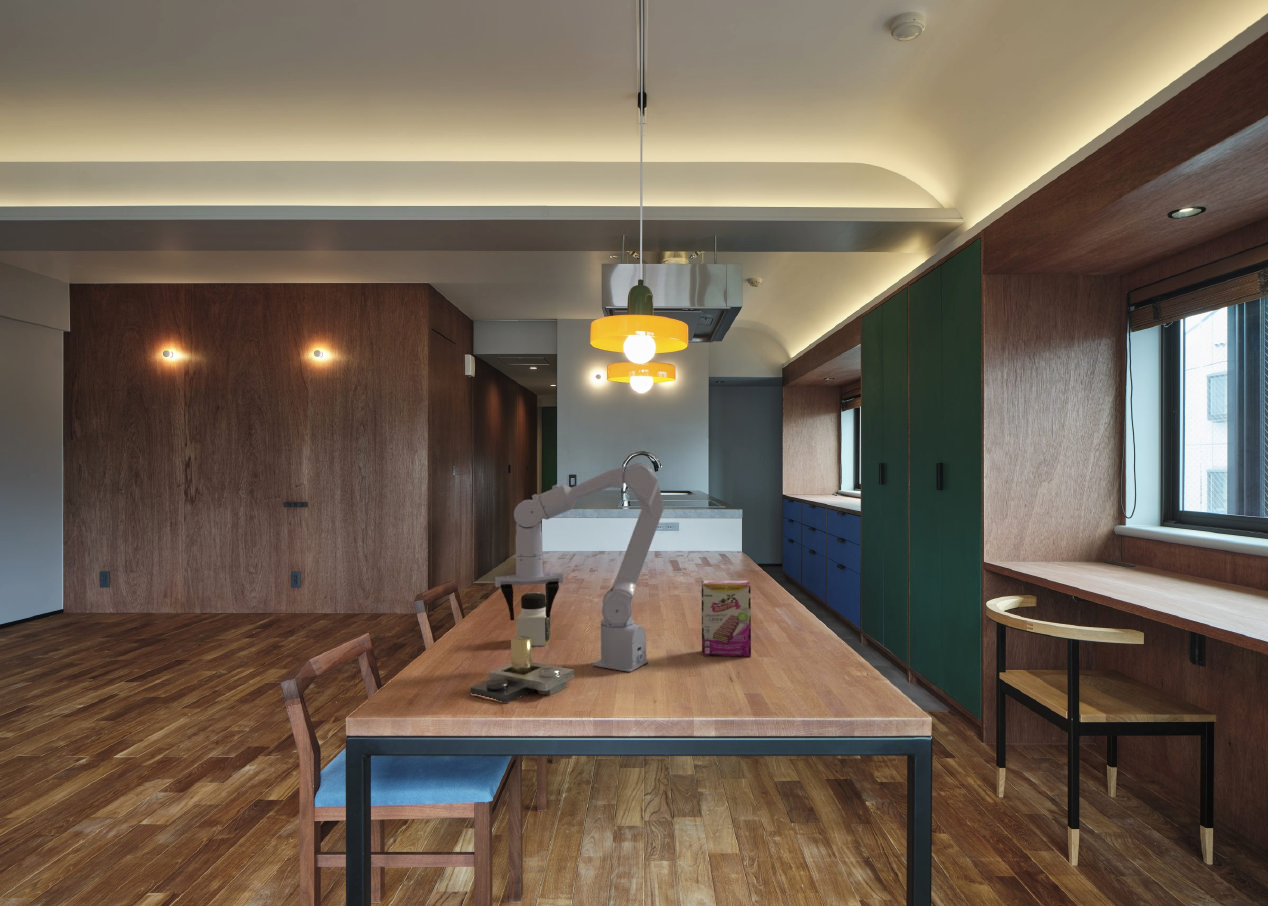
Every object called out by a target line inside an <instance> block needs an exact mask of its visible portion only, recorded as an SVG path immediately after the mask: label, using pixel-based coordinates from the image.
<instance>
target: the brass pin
mask: <svg viewBox="0 0 1268 906" xmlns="http://www.w3.org/2000/svg"><path fill="white" fill-rule="evenodd" d="M532 648H533V646H532V645H531V637H528V636H518V637H517V636H515V637H512V638H511V639H510V654H511V655H510V657H511V659H510V661H511V662H510V664H511V673H515V674H520V675H525V674H527V673H530V672H532V661H533V659H532V658H533V657H532V652H533V651H532Z"/></svg>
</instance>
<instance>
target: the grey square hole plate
mask: <svg viewBox="0 0 1268 906" xmlns="http://www.w3.org/2000/svg"><path fill="white" fill-rule="evenodd" d="M573 678H575V669H571V668H567V667H561V666H556V665H549V664H544V663H539V662H538V663H537V662H532V672H530V673H527V674H525V675H520V674H515V673H511V663H509V664H506V665H503V666H501V667H498V668H496V669H493V670H491V671H488V680H507V681H508V684H512V685H517V686H522V687H527V688H532V689H536V691H537V694H540V693H541V695H545V694H546V695H545V696H552V695H554V694H556V693H558V692H560V691H562V690H565V689H566V688H567V681H569V680H572V679H573Z"/></svg>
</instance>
